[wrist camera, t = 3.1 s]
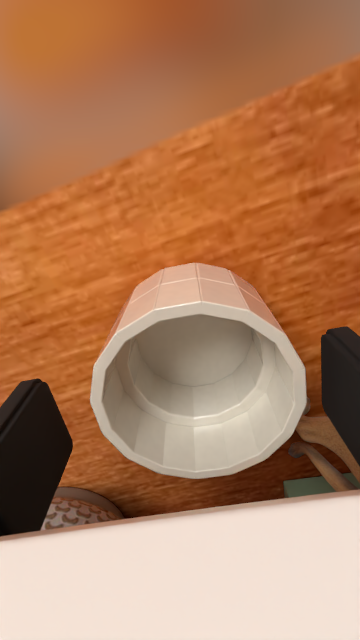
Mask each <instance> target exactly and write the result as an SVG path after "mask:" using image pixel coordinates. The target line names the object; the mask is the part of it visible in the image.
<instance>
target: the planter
mask: <svg viewBox="0 0 360 640" xmlns="http://www.w3.org/2000/svg"><path fill="white" fill-rule="evenodd" d="M121 519H125V518H124V516H123V515H122V513H121V512H120V511H119V509H118V508H117V507H116V506H115V505H114V504H113V503H111V502H110V501H109V500H107V499H106V498H104V497H102V496H100V495H98V494H96V493H94V492H91V491H88V490H84V489H79V488H72V487H57V490H56V492H55V495H54V497H53V500H52V502H51V505H50V507H49V510H48V512H47V515H46V517H45V520H44V522H43V525H42V527H41V530H40V531H42V530H49V529H56V528H63V527H70V526H78V525H85V524H92V523H99V522H107V521H114V520H121Z"/></svg>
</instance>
